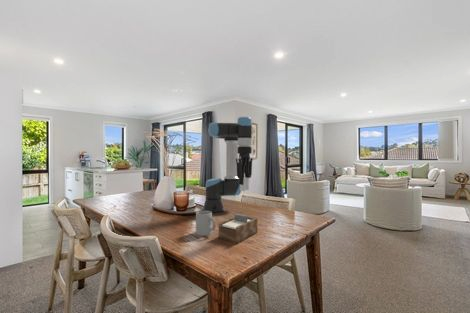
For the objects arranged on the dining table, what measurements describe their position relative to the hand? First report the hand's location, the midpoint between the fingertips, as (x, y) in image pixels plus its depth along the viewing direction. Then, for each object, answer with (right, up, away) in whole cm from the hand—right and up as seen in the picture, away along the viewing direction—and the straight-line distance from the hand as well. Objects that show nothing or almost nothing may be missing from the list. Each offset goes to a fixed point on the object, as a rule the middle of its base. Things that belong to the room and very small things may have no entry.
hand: (244, 190), depth 122 cm
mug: (-20, -23, -2) cm, 30 cm away
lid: (-4, -17, -5) cm, 18 cm away
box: (-3, -23, -4) cm, 23 cm away
